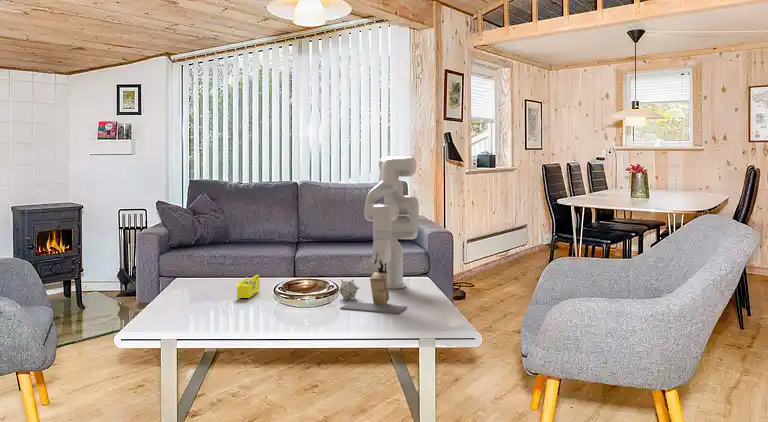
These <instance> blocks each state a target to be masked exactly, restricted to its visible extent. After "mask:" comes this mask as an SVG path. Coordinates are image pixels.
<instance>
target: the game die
mask: <svg viewBox="0 0 768 422" xmlns="http://www.w3.org/2000/svg"><path fill="white" fill-rule="evenodd" d="M358 289H360V287H358V286H357V285H356V284H355V282H354V279H352V280H347V281H344V280H342V279H341V285H340V287H339V290H338V291H339V292H338V293H340V295H341V296H342V297H343V299H342V300H343V301H344V300H345V299H354V300H356V294H357V292H358Z"/></svg>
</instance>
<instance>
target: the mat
mask: <svg viewBox="0 0 768 422" xmlns="http://www.w3.org/2000/svg"><path fill="white" fill-rule="evenodd" d="M407 308H408V306H406V305H394V304H386V305H385V304H374V303H371V302H370V303H369V302H362V301H359V302H357V301H350V302H348V303H346V304H344V305H342V306H340V308H339V309H340V310H344V311H345V310H347V311H355V312H356V311H359V312H368V313H381V314H389V315H390V314H392V315H400V314H401V313H402V312H404V311H405V310H406V309H407Z"/></svg>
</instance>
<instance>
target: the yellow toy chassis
mask: <svg viewBox="0 0 768 422" xmlns="http://www.w3.org/2000/svg"><path fill="white" fill-rule="evenodd" d="M259 291H260V275H259V274H256V275H254V276H253V277H251V278H249V277H248V276H246V277H245V278H244V279H242V280H240V281H239V282H238V283H237V285H236V296H237V299H240V298H249V299H251V297H255V296H256V295H257V294H258V292H259ZM255 294H256V295H255ZM254 295H255V296H254Z"/></svg>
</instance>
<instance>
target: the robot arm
mask: <svg viewBox="0 0 768 422" xmlns="http://www.w3.org/2000/svg"><path fill="white" fill-rule="evenodd" d="M378 168H379V170H378V171H379V177H378V183H377V185H375V186H373V188H371V190H370V191H369V192H368V193H367V195H366V198H365V203H364V207H363V208H364V209H363V215H364V219H365V220H366V221H369V222H372V240H373V241H372V254H371V263H372V264H373V265H375V267H376V269H377V272H378V273H386V277H387V285H388V290H389V289H391V290H392V289H393V290H396V289H397V290H398V289H404V288H406V287H407V283H406V282H404V281H403V280H404V279H403V278H404V276H403V275H404V273H403V272H404V271H403V269H404V268H403V267H404V266H403V265H404V260H403V259H404V255H403V253H404V249H403V246H402V245H401V243H400V242H399V241H398V240H415V239H416V238H417V237H418V235H419V213H420V210H419V209H420V207H419V206H420V205H419V200H418V198H417V197H416V195H406V194H404V185H403V183H402V181H401V180H400V179H399V178H400V177H401V178H402V177H404V178H405V177H412V176H414V174H415V173H416V171H417V168H418V167H417V160H416V159H415V157H414V156H385V157H382V158H380V159H379V160H378ZM382 198H384V200H383V201H384V202H382V203H378V202H376V201H378V200H379V199H382ZM401 217H402V218H401ZM404 217H405V218H404Z"/></svg>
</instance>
